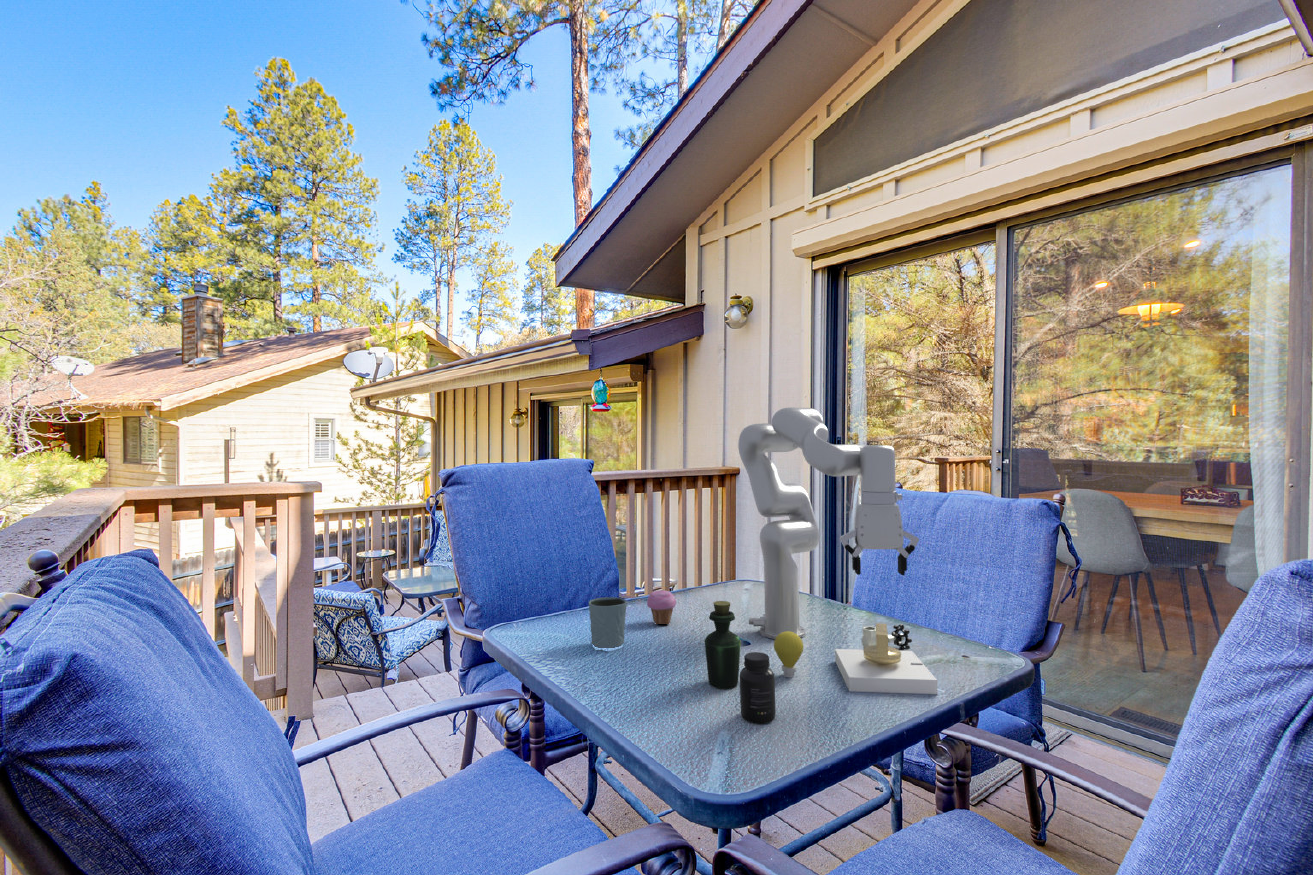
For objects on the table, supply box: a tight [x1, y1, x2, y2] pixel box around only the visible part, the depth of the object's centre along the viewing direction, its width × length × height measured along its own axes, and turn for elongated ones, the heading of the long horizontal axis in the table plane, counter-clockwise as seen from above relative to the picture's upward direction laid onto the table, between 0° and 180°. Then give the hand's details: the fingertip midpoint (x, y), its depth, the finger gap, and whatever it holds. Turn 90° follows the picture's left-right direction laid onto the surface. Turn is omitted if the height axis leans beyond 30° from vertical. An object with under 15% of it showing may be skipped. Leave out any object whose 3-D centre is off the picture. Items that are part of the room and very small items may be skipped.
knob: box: [864, 622, 901, 664], centre depth 138 cm, size 11×8×8 cm
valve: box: [861, 623, 913, 651], centre depth 153 cm, size 7×7×12 cm
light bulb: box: [773, 631, 804, 678], centre depth 139 cm, size 7×7×10 cm
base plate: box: [834, 648, 938, 695], centre depth 137 cm, size 18×18×3 cm
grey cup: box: [588, 596, 628, 648], centre depth 162 cm, size 10×10×12 cm
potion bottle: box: [703, 600, 742, 690], centre depth 135 cm, size 8×8×18 cm
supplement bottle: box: [739, 651, 777, 725], centre depth 118 cm, size 7×7×12 cm
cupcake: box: [646, 589, 677, 625], centre depth 181 cm, size 9×9×10 cm
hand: (879, 573), depth 138 cm, fingers open, 9 cm apart
